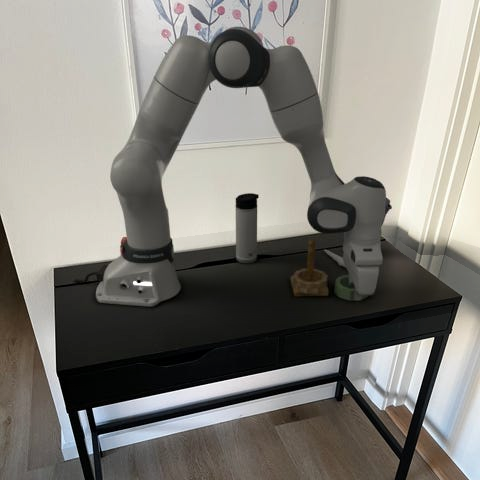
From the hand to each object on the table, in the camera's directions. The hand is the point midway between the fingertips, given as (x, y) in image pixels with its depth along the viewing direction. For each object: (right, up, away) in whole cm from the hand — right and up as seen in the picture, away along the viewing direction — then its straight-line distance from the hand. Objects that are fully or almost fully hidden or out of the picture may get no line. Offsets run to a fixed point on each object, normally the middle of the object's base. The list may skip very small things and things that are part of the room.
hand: (355, 293), depth 134 cm
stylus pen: (-1, +10, +20) cm, 23 cm away
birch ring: (-11, +2, +4) cm, 12 cm away
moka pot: (+8, +14, +26) cm, 30 cm away
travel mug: (-28, +11, +22) cm, 37 cm away
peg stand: (-11, +2, +6) cm, 13 cm away
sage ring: (0, +1, +4) cm, 4 cm away
